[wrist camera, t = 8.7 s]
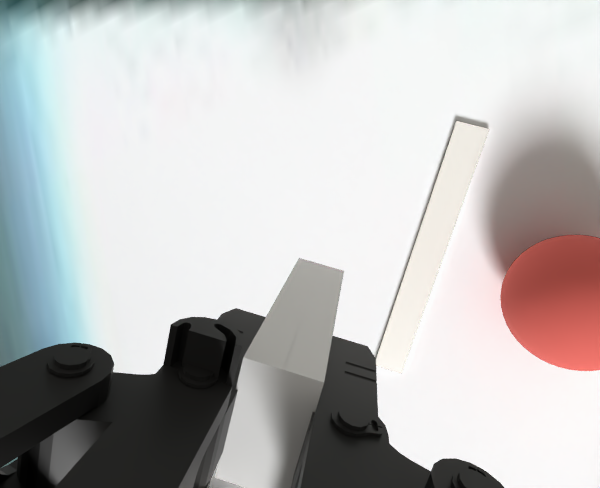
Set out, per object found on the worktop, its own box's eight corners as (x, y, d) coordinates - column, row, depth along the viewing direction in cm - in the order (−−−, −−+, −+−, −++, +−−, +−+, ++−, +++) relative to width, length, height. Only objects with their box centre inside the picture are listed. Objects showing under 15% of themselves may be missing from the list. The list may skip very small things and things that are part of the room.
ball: (634, 377, 20) (504, 326, 24) (683, 256, 19) (539, 222, 23) (624, 416, 16) (466, 345, 20) (687, 260, 15) (507, 217, 19)
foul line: (374, 363, 25) (374, 365, 25) (456, 121, 21) (456, 120, 21) (401, 371, 25) (401, 373, 25) (488, 129, 21) (489, 129, 21)
